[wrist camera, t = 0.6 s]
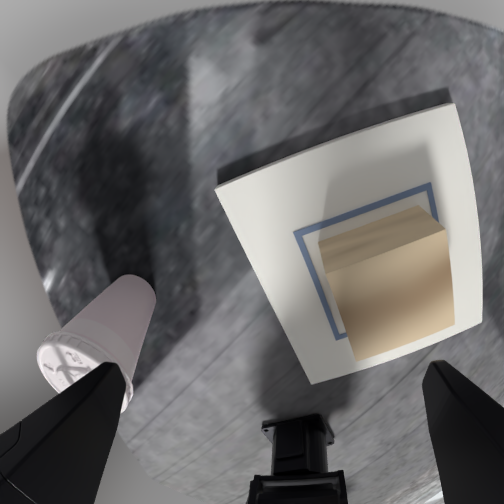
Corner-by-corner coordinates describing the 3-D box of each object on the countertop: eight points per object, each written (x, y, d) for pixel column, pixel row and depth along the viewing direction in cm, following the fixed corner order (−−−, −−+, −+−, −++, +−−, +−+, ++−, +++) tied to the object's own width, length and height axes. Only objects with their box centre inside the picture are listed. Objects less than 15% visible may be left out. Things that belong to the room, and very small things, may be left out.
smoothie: (86, 285, 24) (-9, 409, 12) (129, 242, 22) (12, 383, 10) (140, 337, 26) (75, 474, 14) (189, 303, 24) (125, 468, 12)
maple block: (433, 291, 21) (454, 324, 17) (347, 323, 23) (356, 361, 19) (418, 205, 18) (445, 229, 15) (317, 242, 20) (325, 273, 16)
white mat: (477, 315, 23) (482, 322, 22) (310, 376, 27) (311, 385, 26) (447, 102, 16) (455, 103, 15) (217, 185, 20) (214, 190, 19)
